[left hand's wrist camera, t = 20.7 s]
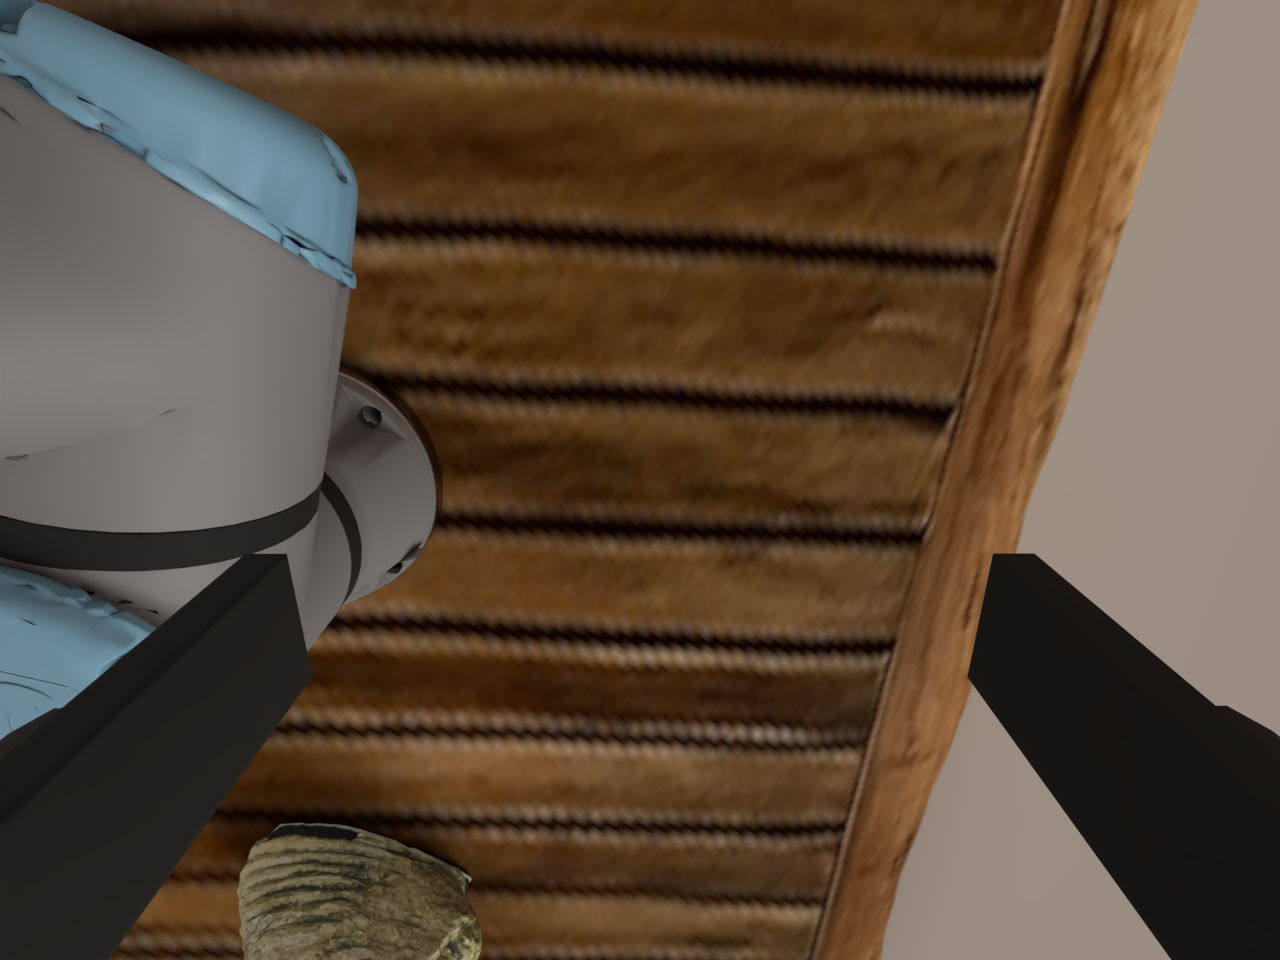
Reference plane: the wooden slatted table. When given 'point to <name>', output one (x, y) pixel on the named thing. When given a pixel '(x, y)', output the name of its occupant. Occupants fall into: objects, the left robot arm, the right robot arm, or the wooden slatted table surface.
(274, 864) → the fossil
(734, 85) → the wooden slatted table surface
